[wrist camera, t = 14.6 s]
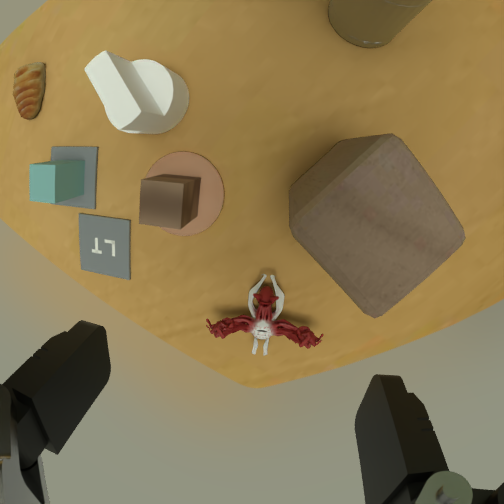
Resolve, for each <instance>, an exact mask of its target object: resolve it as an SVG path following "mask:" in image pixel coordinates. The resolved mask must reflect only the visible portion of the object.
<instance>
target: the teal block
mask: <svg viewBox="0 0 504 504" xmlns="http://www.w3.org/2000/svg"><path fill="white" fill-rule="evenodd" d="M84 172H85V161H83V160H55V161H48V162H42V163H35V164H30V201H37V202H45V203H54V204H55V203H58V202H61V201H65V200H68V199H71V198H74V197H77V196H81V195H84Z"/></svg>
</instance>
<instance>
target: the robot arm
mask: <svg viewBox="0 0 504 504" xmlns="http://www.w3.org/2000/svg"><path fill="white" fill-rule="evenodd" d="M431 1H432V0H331V1H330V4H329V9H328V15H329V20H330V22H331V25H332V26H333V28H334V29H335V31H336V32H337V33H338V34H339V35H340V36H341V37H342V38H344V39H345V40H347V41H348V42H350V43H352V44H354V45H358V46H361V47H367V48H376V47H380V46H383V45H385V44H387V43H388V42H390V41H391V40H392V39H393V38H394V37H395V36H396V35H397V34H398V33H399V32H400V31H401V30H402V29H403V28H404V27H405V26H406V25H407V24H408V23H409V22H410V21H411V20H412V19H413V18H414V17H415V16H416V15H417V14H419V13H420V12H421V11H422V10H423V9H424V8H425V7H426V6H427V5H428V4H429V3H430V2H431ZM110 372H111V364H110V357H109V351H108V343H107V335H106V330H105V328H104V327H103V326H100V325H97V324H93V323H90V322H86V321H83V320H81V321H79V322H78V323H77V324H76V325H74V326H73V327H72V328H71V329H70V330H69V331H68V332H66V331H64V332H62V333H60V334H58V335H56V336H54V337H52V338H50V339H49V340H48V341H47V342H46V343H45V344H44V345H43V346H42V347H41V349H38V351H36V352H35V353H34V354H33V357H30V358H29V359H28V360H27V361H26V362H25V363H24V364H23V365H22V366H21V367H20V368H19V369H18V370H16V371H15V372H14V374H12V375H11V376H10V377H9V378H8V379H7V380H6V382H4V383H3V384H0V504H50V501H49V496H48V491H47V487H46V481H45V475H44V468H43V462H42V457H41V455H40V454H41V453H42V451H43V450H44V448H45V449H47V450H49V451H51V452H53V453H55V454H59V452H60V450H61V449H62V448H63V446H64V445H65V443H66V441H67V440H68V439H69V437H70V436H71V434H72V433H73V431H74V430H75V428H76V427H77V425H78V424H79V422H80V421H81V420H82V418H83V417H84V415H85V414H86V412H87V411H88V409H89V408H90V407H91V405H92V404H93V402H94V401H95V399H96V398H97V396H98V395H99V394H100V392H101V391H102V389H103V388H104V386H105V385H106V384H107V382H108V380H109V376H110ZM355 433H356V439H357V445H358V452H359V459H360V465H361V472H362V479H363V486H364V495H365V502H366V504H504V483H503V484H502V485H501V486H500V487H499V488H498V489H496V490H483V489H473V488H471V486H470V484H469V483H468V481H467V480H466V479H465V478H464V477H463V476H461V475H459V474H457V473H455V472H451V471H449V469H448V467H447V463H446V461H445V458H444V455H443V452H442V450H441V447H440V444H439V442H438V439H437V436H436V434H435V431H433V426H432V423H431V421H430V420H429V416H428V414H427V411H426V409H425V406H424V404H423V403H422V402H421V401H420V400H419V399H418V398H417V397H416V395H415V394H414V393H407V390H406V388H405V385H404V383H403V380H402V378H401V377H400V376H394V375H378V374H376V375H374V376H373V378H372V380H371V382H370V384H369V387H368V389H367V391H366V393H365V396H364V398H363V400H362V402H361V404H360V407H359V409H358V411H357V414H356V419H355Z"/></svg>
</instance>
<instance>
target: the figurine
mask: <svg viewBox="0 0 504 504" xmlns="http://www.w3.org/2000/svg"><path fill="white" fill-rule="evenodd" d="M263 275H264V276H263V278H262V279H261V280H260V282H259V283H258V284H256V285H255V286H254V287H253V288H252V289H251V290H250V291H249V300H248V307H249V310H250V312H251V315H252V318H251V317H249V316H246V315H241V316H238V317H235V318H232V319H230V318H224V319H223V320H222V321H221V320H220V321H218V322H217V323H216V324H213V325H211V323H210V321H209V320H208V319H206V321H207V322H208V323H209V326H210V328H211V329H212V330H211V331H210V333H211V334H213V333H214V336H215V337H216V338H217V337H220V336H221V338H222V339H224V338H225V337H226V336H227V335H229V334H230V333H234V332H237V331H239V330H242V331H244V332H250V333H252V334H253V335H254V336H255V338H254V346H253V350H252V353H253V354H255V353H256V349H257V347H258V343H257V338H258V339H266V341H265V343H264V345H263V348H264V355H267V348H268V341H269V337H271V336H272V335H275V336H281V335H285V336H286V337H287V338H288V339H289V340H290V339H291V340H292V341H294V342H295V343H299V346H300V347H303V346H305V347H306V348H310V347H311V345H313V346H314V347H315V346H316V345H318V344H319V343H320V342H321V341H322V340H320V339H321V337H323V334H321V336H320V338H317V337H316V336H314V333H313V332H312V331H310V329H309V328H308V327H306V326H301V327H299V328H297V327H296V326H294V325H293V324H291V323H290V322H288V321H286V320H285V319H282V320H276V318H277V317H278V316H279V314H280V313H281V311H282V309H283V303H284V293H283V292H282V291H281V289H280V288H279V287H278V285H277V284H276V281H275V278H274V277H276V276H274V275H271V276H270V277H271V280H272V281H273V285H274V289H275V292H276V296H274V293H273V290H272V288H271V287H269V286H265V287H263V288H262V289H261V290H260V293H259V294H257V291H258V289H259V288H260V286H261V284H262V283H263V281H264V279H265V278H266V276H267V275H266V274H263ZM254 297H255V298H256V299H257V300H258V303H259V307H258V309H255V307H254V305H253V301H252V300H253V298H254ZM275 300H276V310H275V311H274V312H272V310H271V304H273V303H274V302H275ZM260 313H261V314H262V315H261V314H260ZM266 314H267V315H266ZM275 320H276V321H275ZM245 323H246V324H245ZM206 326H207V325H206ZM207 327H208V326H207ZM208 328H209V327H208ZM210 328H209V330H210ZM279 328H280V329H279ZM319 340H320V341H319ZM316 342H318V343H317V344H316ZM264 355H263V356H264Z"/></svg>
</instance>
